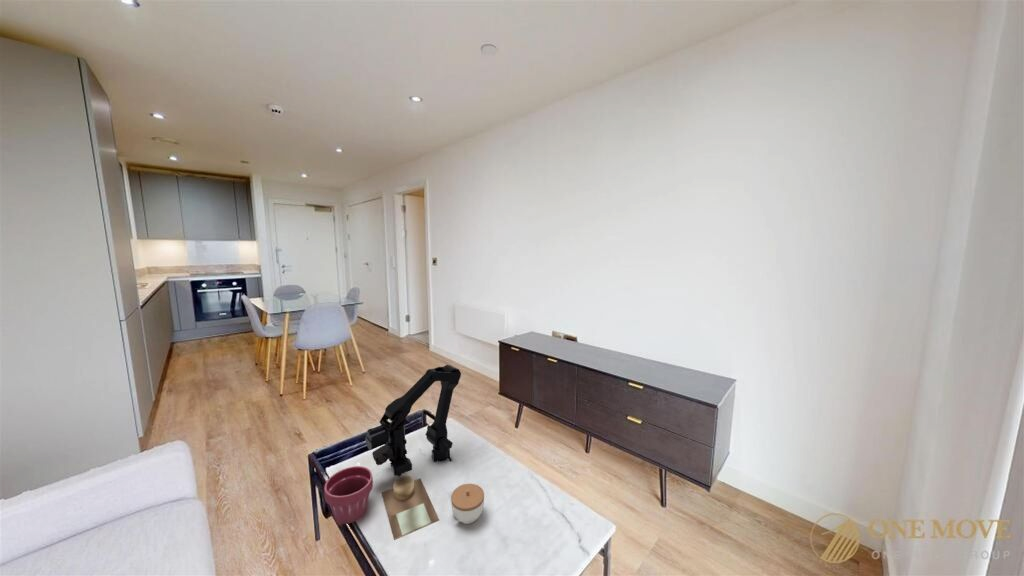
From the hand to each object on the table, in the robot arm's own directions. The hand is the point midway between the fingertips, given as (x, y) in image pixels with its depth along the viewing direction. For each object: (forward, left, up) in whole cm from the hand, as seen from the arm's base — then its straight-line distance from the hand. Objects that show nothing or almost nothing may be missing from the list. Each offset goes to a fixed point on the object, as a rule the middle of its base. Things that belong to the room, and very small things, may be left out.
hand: (398, 475), depth 125 cm
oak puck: (0, +8, -1) cm, 9 cm away
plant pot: (+17, +8, -2) cm, 19 cm away
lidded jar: (-16, +28, -2) cm, 32 cm away
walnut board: (0, +15, -2) cm, 15 cm away
